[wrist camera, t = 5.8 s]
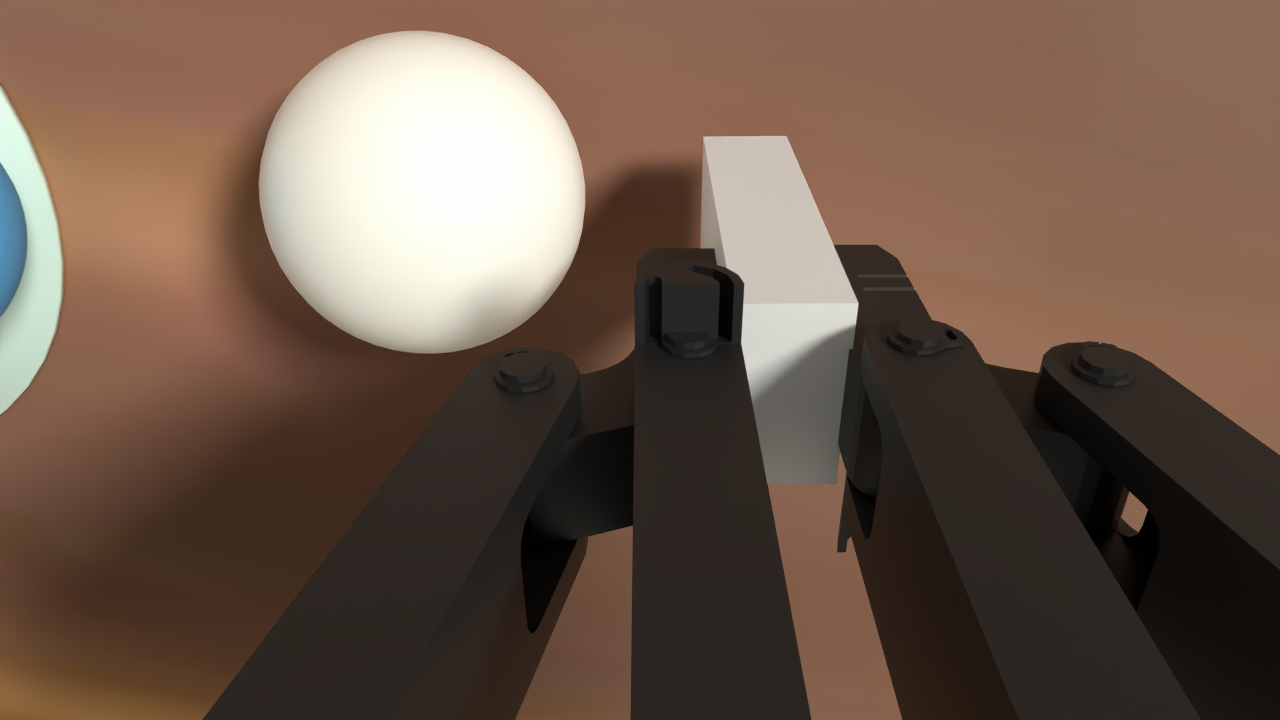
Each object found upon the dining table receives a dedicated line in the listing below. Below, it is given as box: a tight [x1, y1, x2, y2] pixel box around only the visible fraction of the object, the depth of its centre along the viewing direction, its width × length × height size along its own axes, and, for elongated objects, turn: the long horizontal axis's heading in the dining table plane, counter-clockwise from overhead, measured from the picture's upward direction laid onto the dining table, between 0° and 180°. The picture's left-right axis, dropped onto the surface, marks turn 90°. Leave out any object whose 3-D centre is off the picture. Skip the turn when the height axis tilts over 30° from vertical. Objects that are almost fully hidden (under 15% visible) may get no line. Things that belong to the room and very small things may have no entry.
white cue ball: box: [259, 31, 585, 354], centre depth 16 cm, size 6×6×6 cm
